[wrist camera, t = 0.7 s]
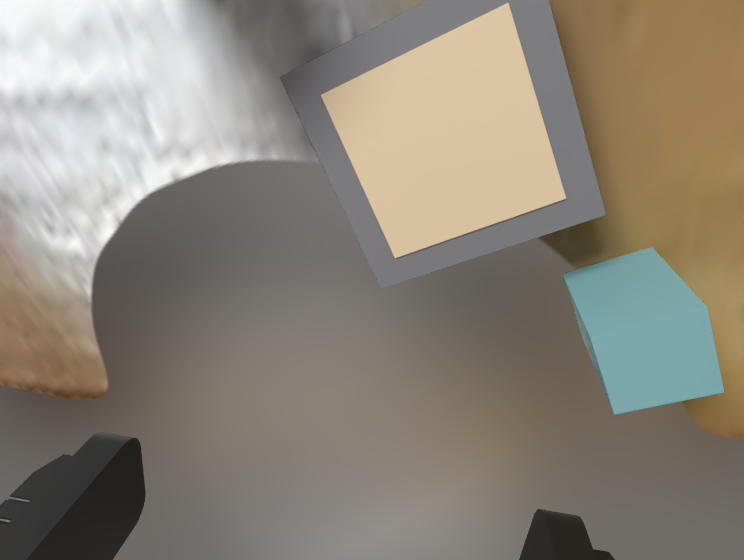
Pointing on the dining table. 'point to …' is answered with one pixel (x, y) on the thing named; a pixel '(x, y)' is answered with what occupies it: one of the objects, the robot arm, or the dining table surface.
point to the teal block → (644, 332)
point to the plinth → (449, 134)
